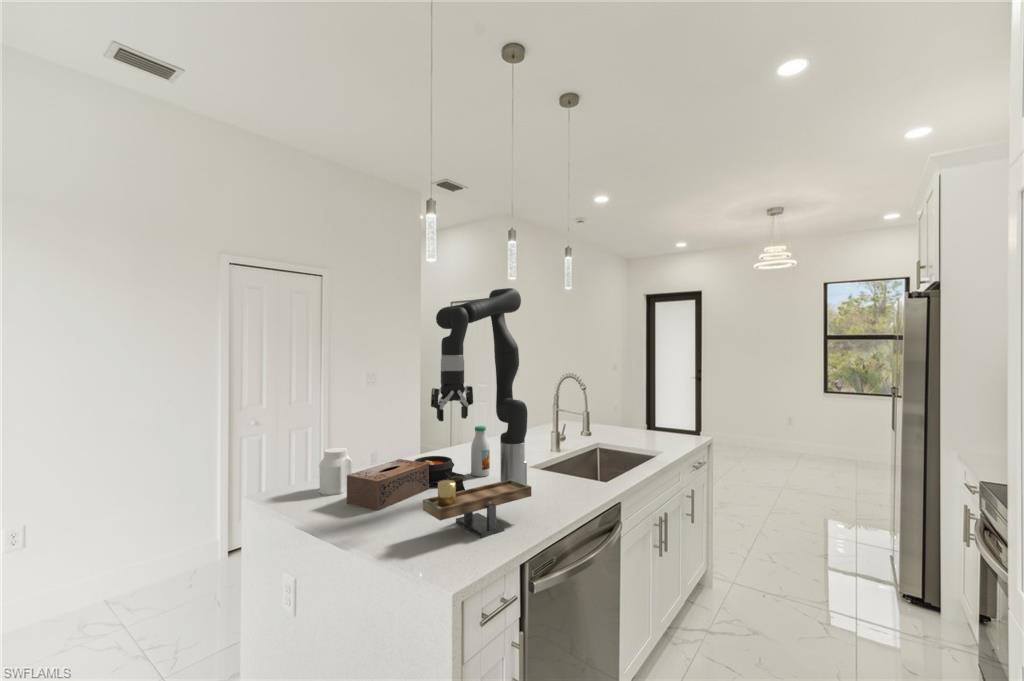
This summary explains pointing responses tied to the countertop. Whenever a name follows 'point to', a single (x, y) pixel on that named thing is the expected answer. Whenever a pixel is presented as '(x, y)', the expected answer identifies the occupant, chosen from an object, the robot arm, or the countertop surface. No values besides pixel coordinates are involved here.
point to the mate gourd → (457, 482)
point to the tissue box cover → (387, 484)
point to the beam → (478, 499)
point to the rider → (446, 493)
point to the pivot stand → (481, 522)
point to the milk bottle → (480, 453)
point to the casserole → (439, 468)
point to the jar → (334, 471)
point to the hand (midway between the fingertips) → (452, 419)
